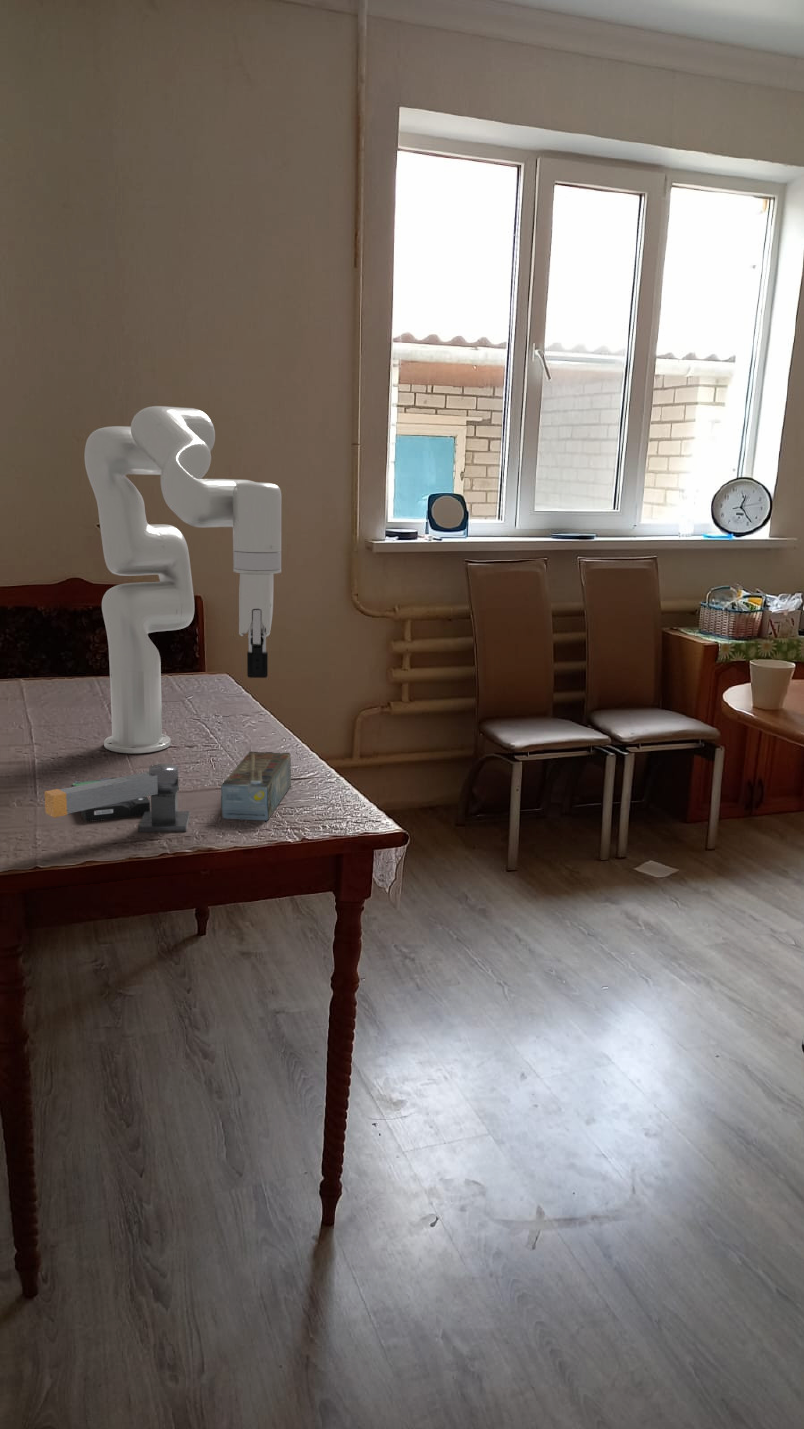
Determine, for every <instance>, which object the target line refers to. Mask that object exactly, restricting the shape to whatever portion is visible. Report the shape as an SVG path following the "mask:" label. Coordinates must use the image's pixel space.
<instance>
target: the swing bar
mask: <svg viewBox="0 0 804 1429" xmlns="http://www.w3.org/2000/svg"><path fill="white" fill-rule="evenodd" d="M113 778H114V779H110V778H109V780H104V781H99V782H94V783H89V784H84V785H79V786H74V787H71V786H70V787H65V788H60V789H59V788H55V789H51V790H45V791H44V808H45V810H44V812H45V814H47V815H48V816H51V818H58V817H63V816H67V815H68V814H73V813H74V814H75V813H77V812H80V811H83V810H87V809H92V808H96V807H101V806H105V805H110V804H115V803H119V802H124V801H128V800H133V799H137V798H142V797H147V798H148V797H151V795H156V794H171V793H175V792H177V793H178V791H179V789H180V786H179V785H180V784H179V783H180V782H179V766H178V765H176V764H172V763H171V764H170V763H159V764H154V765H151V766H149V767H148V771H143V772H139V773H134V774H130V775H125V776H120V777H119V778H118V777H113Z"/></svg>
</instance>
